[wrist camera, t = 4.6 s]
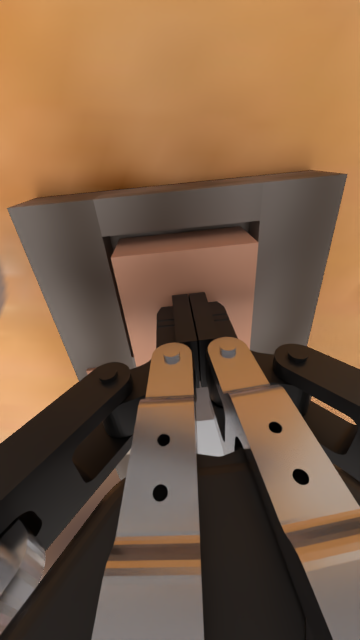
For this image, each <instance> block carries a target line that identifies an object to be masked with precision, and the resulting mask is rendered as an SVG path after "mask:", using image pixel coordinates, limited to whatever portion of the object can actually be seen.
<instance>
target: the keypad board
mask: <svg viewBox="0 0 360 640" xmlns="http://www.w3.org/2000/svg"><path fill="white" fill-rule="evenodd" d="M346 178H347V174H342V173H332V172H323V171H313V170H310V171H300V172H290V173H280V174H270V175H260V176H250V177H240V178H230V179H220V180H210V181H200V182H190V183H180V184H170V185H160V186H150V187H140V188H131V189H121V190H111V191H101V192H91V193H81V194H71V195H61V196H51V197H41V198H35V199H32V200H29V201H26V202H23V203H21V204H18V205H15V206H12V207H9V208H7V209H8V212H9V214H10V216H11V219H12V221H13V224H14V226H15V228H16V231H17V233H18V236H19V238H20V240H21V243H22V245H23V248H24V250H25V252H26V255H27V257H28V260H29V262H30V264H31V267H32V269H33V272H34V274H35V276H36V279H37V281H38V284H39V286H40V288H41V291H42V293H43V296H44V298H45V300H46V303H47V305H48V308H49V310H50V312H51V315H52V317H53V320H54V322H55V324H56V327H57V329H58V332H59V334H60V336H61V339H62V341H63V344H64V346H65V348H66V351H67V353H68V356H69V358H70V360H71V363H72V365H73V368H74V370H75V372H76V375H77V377H78V380H79V381H80V380H82V379H83V378H84V377H85V376H87V375H88V374H89V373H90V372H92V371H93V370H94V369H96V368H97V367H99V366H101V365H103V364H106V363H110V362H120V363H124V364H125V365H127V366H128V367H129V369H133V368H136V363H135V358H134V354H133V350H132V346H131V341H130V337H129V333H128V329H127V324H126V320H125V316H124V312H123V308H122V303H121V299H120V295H119V291H118V286H117V282H116V278H115V274H114V269H113V265H112V261H111V256H112V254H113V252H114V250H115V248H116V246H117V244H118V242H119V239H122V238H132V237H142V236H152V235H161V234H171V233H181V232H191V231H201V230H210V229H220V228H230V227H242V228H243V229H244V230H245V231H246V232H247V233H248V234H249V235H251V236H252V237H253V238H254V239H255V240H256V241H257V242H259V243H258V255H257V267H256V279H255V292H254V304H253V316H252V328H251V340H250V350H251V351H254V352H259V353H266V354H274V353H275V350H276V349H277V348H278V347H279V346H281V345H284V344H300V345H304V346H307V343H308V339H309V335H310V331H311V326H312V322H313V318H314V314H315V309H316V305H317V301H318V297H319V292H320V288H321V284H322V280H323V275H324V271H325V267H326V263H327V258H328V254H329V250H330V246H331V241H332V237H333V233H334V229H335V224H336V220H337V216H338V212H339V207H340V203H341V199H342V195H343V190H344V186H345V182H346ZM199 381H200V377H199ZM130 451H131V449H130V450H129V452H128V453H127V454H126V455H125V456H124V458H123V459H122V460H121V461H120V462H119V464H118V465H117V466H116V467H115V468H116V471H117V473H118V475H119V478H120V480H122V479H124V478H125V477H126V475H127V469H128V463H129V457H130Z"/></svg>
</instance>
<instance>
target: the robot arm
mask: <svg viewBox="0 0 360 640" xmlns="http://www.w3.org/2000/svg"><path fill="white" fill-rule="evenodd" d="M172 303H173V306H168V307H161V308H160V310H159V311H158V313H157V328H156V349H155V351H154V352H153V354H152V357H151V360H150V361H148V362H147V363H145V364H143V365H141V366H138V367H136V368H133V369H129V367H128V366H127V365H125V364H124V363H120V362H110V363H106V364H103V365H101V366H99V367H97V368H96V369H94V370H93V371H92V372H90V373H89V374H88V375H87V376H85V377H84V378H83V379H82V380H80V381H79V382H78V383H77V384H75V385H74V386H73V387H71V388H70V389H69V390H68V391H66V392H65V393H64V394H63V395H61V396H60V397H59V398H58V399H56V400H55V401H54V402H53V403H51V404H50V405H49V406H47V407H46V408H45V409H44V410H42V411H41V412H40V413H39V414H37V415H36V416H35V417H34V418H32V419H31V420H30V421H28V422H27V423H26V424H25V425H23V426H22V427H21V428H20V429H18V430H17V431H16V432H15V433H13V434H12V435H11V436H10V437H8V438H7V439H6V440H4V441H3V442H2V443H1V444H0V640H360V369H358V368H355V367H353V366H351V365H348V364H346V363H344V362H341V361H339V360H337V359H334V358H332V357H330V356H327V355H325V354H323V353H321V352H318V351H316V350H314V349H311V348H309V347H307V346H304V345H300V344H284V345H281V346H279V347H278V348H277V349H276V350H275V353H274V354H266V353H259V352H254V351H251V350H249V348H248V346H247V345H246V344H245V343H244V342H243V341H242V340H239V339H238V338H237V335H236V333H235V330H234V328H233V326H232V323H231V321H230V320H229V316H228V314H227V312H226V309H225V307H224V306H223V305H222V304H220V303H219V302H218V301H215V302H208V300H207V297H206V294H205V292H199V293H189V298H188V294H180V295H172ZM199 377H200V382H201V388H202V387H208V391H209V404H210V408H211V411H212V415H213V418H214V421H215V425H216V428H217V431H218V435H219V438H220V442H221V445H222V449H223V453H224V456H219V457H218V456H210V455H203V454H198V438H197V420H196V401H197V392H196V388H200V383H199ZM312 396H313V397H315V398H317V399H318V400H320V401H322V402H324V403H326V404H327V405H329V406H331V407H333V408H335V409H337V410H338V411H340V412H342V413H344V414H346V415H347V416H349V417H350V418H351V419H353V420H354V422H355V423H356V425H354V424H351V423H349V422H347V421H345V420H344V419H342V418H340V417H338V416H337V415H335V414H333V413H331V412H330V411H328V410H326V409H324V408H323V407H321V406H319V405H317V404H315V403H314V402H312V401H311V397H312ZM130 449H131V451H130V457H129V463H128V469H127V475H126V477H125V478H124V479H122V480H121V481H120V482H119V483H118V484H116V485H115V486H114V487H113V488H112V489H111V490H110V491H109V492H108V493H107V495H105V497H104V498H103V499H102V500H101V502H100V503H99V504H98V506H97V507H96V508H95V510H94V511H93V512H92V514H91V515H90V516H89V518H88V519H87V520H86V522H85V523H84V524H83V526H82V527H81V528H80V530H79V531H78V532H77V534H76V535H75V536H74V538H73V539H72V540H71V542H70V543H69V544H68V546H67V547H66V548H65V550H64V551H63V552H62V554H61V555H60V556H59V558H58V559H57V561H56V562H55V563H54V564H53V566H52V567H51V568H50V570H49V571H48V572H47V574H46V575H45V576H44V578H43V579H42V580H41V581H40V578H41V576H42V573H43V570H44V565H45V551H46V550H47V549H48V547H49V546H50V545H51V544H52V543H53V541H54V540H55V539H56V538H57V537H58V535H59V534H60V533H61V532H62V531H63V530H64V528H65V527H66V526H67V525H68V523H69V522H70V521H71V520H72V519H73V517H74V516H75V515H76V514H77V513H78V511H79V510H80V509H81V508H82V507H83V506H84V504H85V503H86V502H87V501H88V499H89V498H90V497H91V496H92V495H93V494H94V492H95V491H96V490H97V489H98V488H99V486H100V485H101V484H102V483H103V482H104V480H105V479H106V478H107V477H108V476H109V474H110V473H111V472H112V471H113V469H114V468H115V467H116V466H117V465H118V464H119V462H120V461H121V460H122V459H123V458H124V456H125V455H126V454H127V453H128V452H129V450H130ZM39 581H40V583H39Z"/></svg>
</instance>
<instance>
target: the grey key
mask: <svg viewBox="0 0 360 640" xmlns="http://www.w3.org/2000/svg"><path fill="white" fill-rule="evenodd" d="M199 383H200V388H196V392H197V401H196V420H197V438H198V454H203V455H210V456H218V457H219V456H224V453H223V449H222V445H221V442H220V438H219V435H218V431H217V428H216V425H215V421H214V418H213V415H212V411H211V408H210V404H209V391H208V387H202V388H201V382H200V381H199Z"/></svg>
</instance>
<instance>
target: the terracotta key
mask: <svg viewBox="0 0 360 640" xmlns="http://www.w3.org/2000/svg"><path fill="white" fill-rule="evenodd" d="M258 243H259V242H257V241H256V240H255V239H254V238H253V237H252V236H251V235H249V234H248V233H247V232H246V231H245V230H244V229H243V228H242V227H230V228H220V229H210V230H201V231H191V232H181V233H171V234H161V235H152V236H142V237H132V238H122V239H119V242H118V244H117V246H116V248H115V250H114V252H113V254H112V256H111V261H112V265H113V269H114V274H115V278H116V282H117V286H118V291H119V295H120V299H121V303H122V308H123V312H124V316H125V320H126V324H127V329H128V333H129V337H130V341H131V346H132V350H133V354H134V358H135V363H136V367H138V366H141V365H143V364H145V363H147V362H148V361H150V360H151V357H152V354H153V352H154V351H155V349H156V328H157V313H158V311H159V310H160V308H161V307H168V306H173V303H172V295H180V294H188V298H189V293H199V292H205V294H206V297H207V300H208V302H215V301H218V302H219V303H220V304H222V305H223V306H224V307H225V309H226V312H227V314H228V316H229V320H230V321H231V323H232V326H233V328H234V330H235V333H236V335H237V338H238V339H239V340H242V341H243V342H244V343H245V344H246V345H247V346H248V348H249V350H250V340H251V328H252V316H253V304H254V292H255V279H256V267H257V255H258Z"/></svg>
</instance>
